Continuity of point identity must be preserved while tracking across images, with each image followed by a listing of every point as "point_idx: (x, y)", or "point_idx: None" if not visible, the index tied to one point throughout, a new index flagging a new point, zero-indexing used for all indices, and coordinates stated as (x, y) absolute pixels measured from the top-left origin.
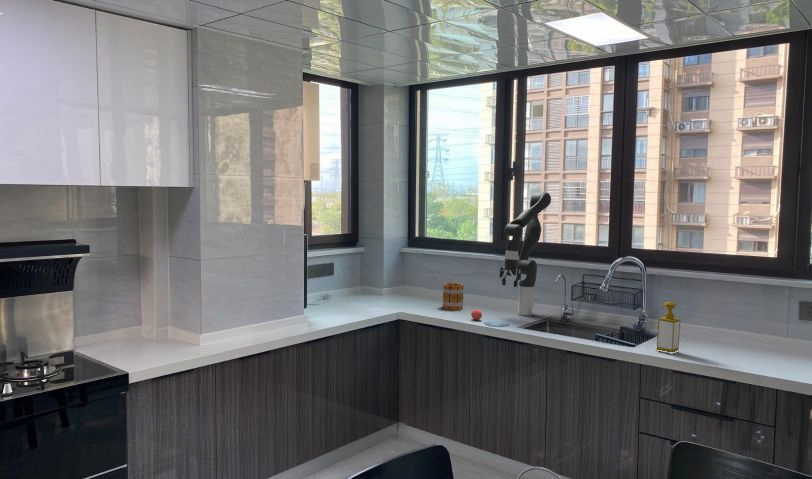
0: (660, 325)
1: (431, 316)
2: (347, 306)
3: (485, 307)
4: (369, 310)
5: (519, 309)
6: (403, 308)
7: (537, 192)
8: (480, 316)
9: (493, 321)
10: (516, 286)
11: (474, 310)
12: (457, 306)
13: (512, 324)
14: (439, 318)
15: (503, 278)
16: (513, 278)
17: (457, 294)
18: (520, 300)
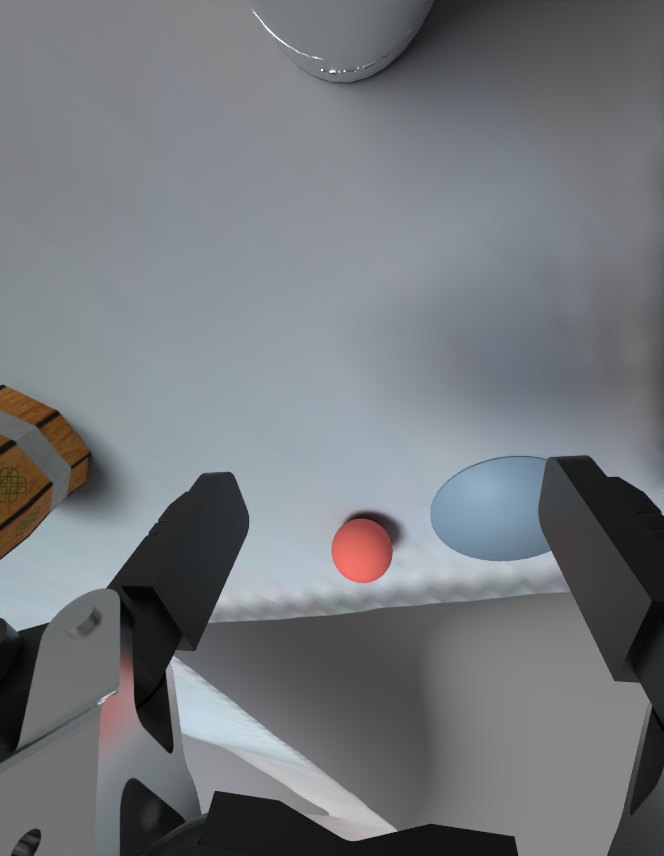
0: None
1: (227, 600)
2: None
3: None
4: None
5: (329, 65)
6: (57, 588)
7: None
8: (391, 544)
9: (451, 493)
10: (587, 469)
11: (359, 582)
12: (71, 467)
13: (584, 452)
14: (272, 602)
15: (162, 655)
16: (631, 779)
17: (3, 528)
18: (324, 14)
